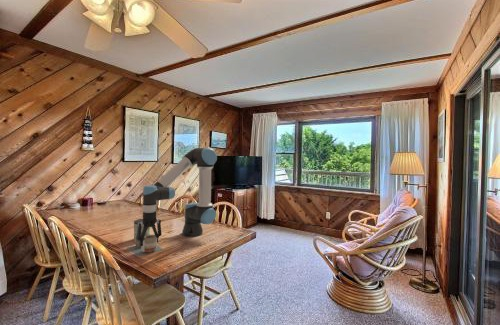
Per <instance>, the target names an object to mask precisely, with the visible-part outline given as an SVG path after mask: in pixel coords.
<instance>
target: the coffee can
mask: <svg viewBox="0 0 500 325" xmlns="http://www.w3.org/2000/svg"><path fill="white" fill-rule="evenodd" d="M142 221H143V218H139V219H135V220H134V221H133V241H134V242H135V243H136V233H137V230H138V225H137V223H140V222H142ZM141 227H142V228H141V232H142V231H143V227H144V224H142V226H141ZM146 232H147V235H151V227H149V228H148V229H147V231H146Z"/></svg>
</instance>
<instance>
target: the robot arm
mask: <svg viewBox="0 0 500 325" xmlns="http://www.w3.org/2000/svg"><path fill="white" fill-rule="evenodd" d="M217 160H218V156H217V153H216V151H215V150H214V149H213V148H210V147H194V148H193V149H191V150H189V151H188V152H187V153H186V154H184V155H183V156H182V157H181V160H180V161H179V162H178V163H176V164H175V165H174V166H173V167H172V168H171V169H170V170H168V171H167V172H166V173H165V174H164V175H163V176H162V177H160V178H159V179H158V180H157V181H156V182H155V183H154V184H148V185H145V186H143V188H142V219H143V221H142V222H140V223H137V225H138V230H137V240H140V246H141V251H143V252H144V243H145V241H144V240H143V239H144V236H145V234H146V231H147V229H148V228H149V227H150V228H152V229H151V230H152V232H153V233H154V234H153V235H155V236H156V249H157V246H158V243H159V238H160V237H161V236H162V226H161V224H162V220H161V219H159V218H158V219H157V203H158V202H159V201H167V200H169V201H170V200H172V199H174V198H175V197H176V190H175V188H174V187H172V186H170V185H172V184H173V183H174V182H175V181H177V179H178V178H179V177H180V176H181V175H182V174H184V173H185V172H186V171H187V170H188V169H189V168H192V167H193V166H195V165H196V168H198V202H190V203H186V204H185V206H184V225H183V228H182V232H181V235H182V236H184V237H189V238H190V237H192V238H193V237H199V236H201V235H203V232H204V230H203V228H202V225H211V224H212V223H213V222H214V221H215V219H216V217H217V213H216V212H217V211H216V210H215V209H214V204H213V203H212V202H211V201H212V169H213V168H214V165H215V164H216V163H217ZM142 224H144V227H143V231H142V234H141V228H142V227H141V226H142ZM156 227H157V228H156Z"/></svg>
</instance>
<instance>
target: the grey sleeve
mask: <svg viewBox="0 0 500 325" xmlns="http://www.w3.org/2000/svg"><path fill="white" fill-rule="evenodd" d="M141 234H142V232H141ZM146 235H147V232H146V234H145V236H146ZM134 246H135V247H136V248H141V246H140V240H137V233H136V242H135V245H134Z"/></svg>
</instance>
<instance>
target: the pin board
mask: <svg viewBox="0 0 500 325" xmlns="http://www.w3.org/2000/svg"><path fill="white" fill-rule="evenodd" d="M126 249H127V250H128V251H130V253H132V254H133V255H135V256H136V257H140V256H145V255H149V254H150V255H151V254H154V253H157V252H162V251H165V249H164V248H162V247H161V246H159V245H157V249H155V250H154V251H151V252H143V251H141V248H136V247H135V245H132V246H129V247H126Z"/></svg>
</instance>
